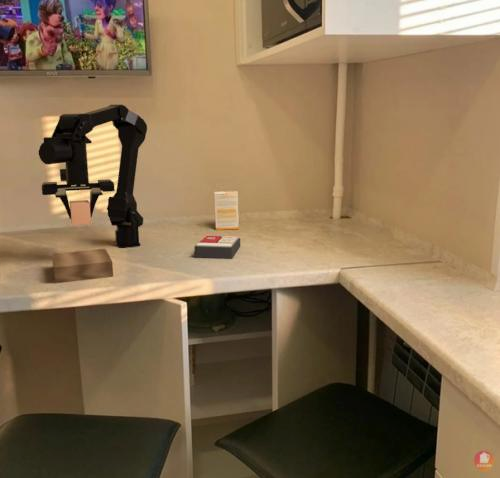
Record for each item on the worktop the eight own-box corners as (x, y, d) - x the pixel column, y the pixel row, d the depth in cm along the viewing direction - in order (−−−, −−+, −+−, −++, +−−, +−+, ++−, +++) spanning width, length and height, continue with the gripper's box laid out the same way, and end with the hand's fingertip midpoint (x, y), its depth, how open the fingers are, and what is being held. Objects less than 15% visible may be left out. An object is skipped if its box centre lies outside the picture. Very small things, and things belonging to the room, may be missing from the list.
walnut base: (106, 262, 153) (105, 248, 152) (113, 276, 141) (112, 261, 140) (53, 268, 148) (51, 253, 148) (55, 283, 136) (53, 267, 135)
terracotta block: (89, 221, 156) (88, 200, 155) (91, 224, 152) (89, 202, 150) (71, 222, 154) (69, 201, 153) (72, 225, 150) (70, 204, 149)
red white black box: (240, 235, 170) (232, 244, 155) (240, 249, 170) (232, 259, 156) (205, 234, 171) (194, 243, 156) (205, 248, 172) (194, 258, 157)
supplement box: (238, 226, 197) (237, 190, 194) (238, 229, 192) (238, 192, 189) (215, 227, 197) (214, 190, 194) (215, 230, 192) (214, 192, 189)
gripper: (108, 157, 160) (111, 211, 163) (39, 160, 153) (44, 215, 157) (112, 161, 149) (116, 217, 153) (39, 163, 143) (44, 222, 147)
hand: (80, 218), depth 153 cm, fingers closed on terracotta block, 5 cm apart
